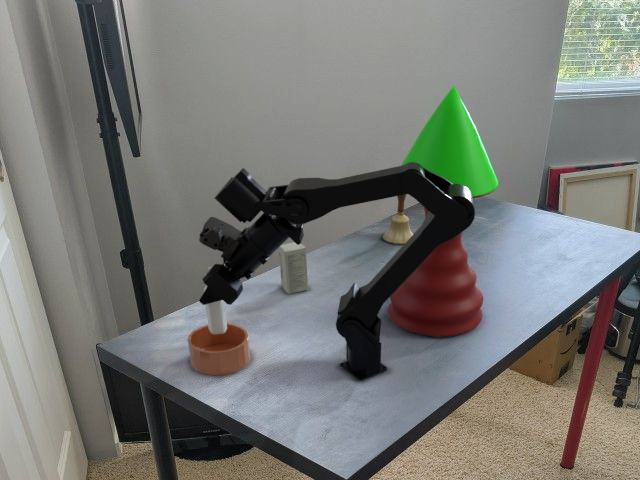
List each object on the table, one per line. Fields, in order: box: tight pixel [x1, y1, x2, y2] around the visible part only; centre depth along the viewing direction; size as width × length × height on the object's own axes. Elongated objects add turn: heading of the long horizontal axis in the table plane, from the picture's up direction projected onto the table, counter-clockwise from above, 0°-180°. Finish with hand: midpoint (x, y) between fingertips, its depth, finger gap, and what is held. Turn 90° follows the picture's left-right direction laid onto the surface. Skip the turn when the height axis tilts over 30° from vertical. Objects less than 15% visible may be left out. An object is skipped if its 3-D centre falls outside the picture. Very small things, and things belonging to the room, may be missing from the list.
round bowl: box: [187, 322, 251, 376], centre depth 136 cm, size 11×11×5 cm
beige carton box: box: [278, 241, 309, 295], centre depth 160 cm, size 5×4×10 cm
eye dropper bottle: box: [203, 266, 228, 335], centre depth 130 cm, size 4×6×12 cm
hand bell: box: [382, 194, 414, 245], centre depth 182 cm, size 8×8×16 cm
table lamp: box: [387, 85, 499, 338], centre depth 140 cm, size 20×20×45 cm
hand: (206, 295), depth 130 cm, fingers closed on eye dropper bottle, 5 cm apart
